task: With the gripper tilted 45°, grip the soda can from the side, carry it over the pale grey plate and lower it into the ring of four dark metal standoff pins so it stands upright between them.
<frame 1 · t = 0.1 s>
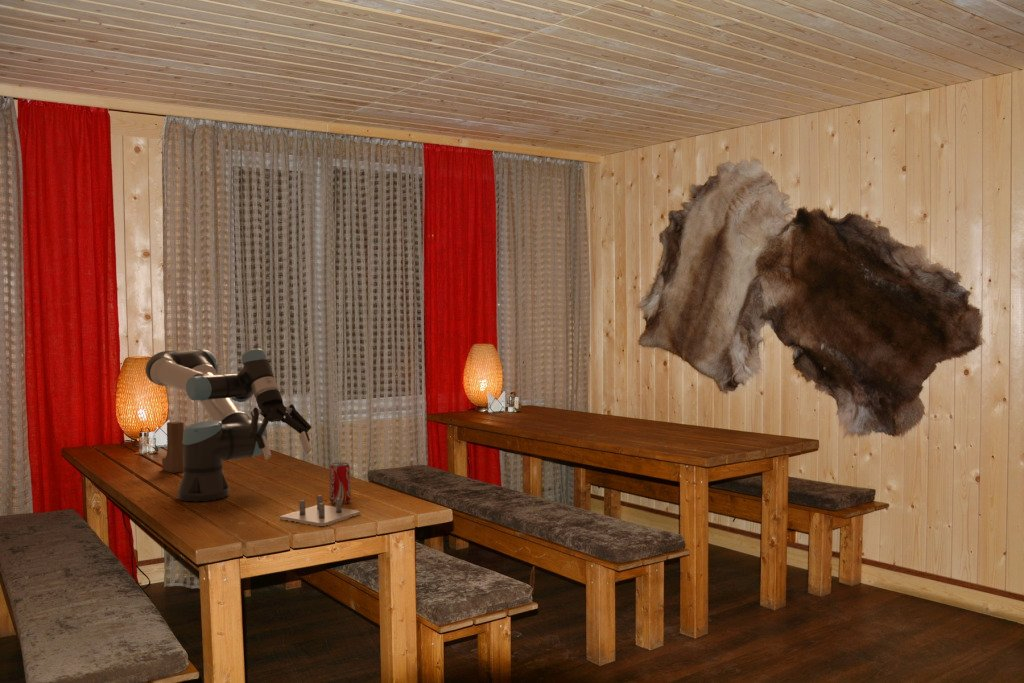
hand: (288, 454, 259), 15 cm above the table, tool tilted 35°, fingers open, 13 cm apart
wooden block: (173, 471, 311), on the table
soda can: (340, 503, 263), on the table
standoff pins: (320, 506, 245), on the base plate, point 3 cm above the table
base plate: (320, 517, 245), on the table
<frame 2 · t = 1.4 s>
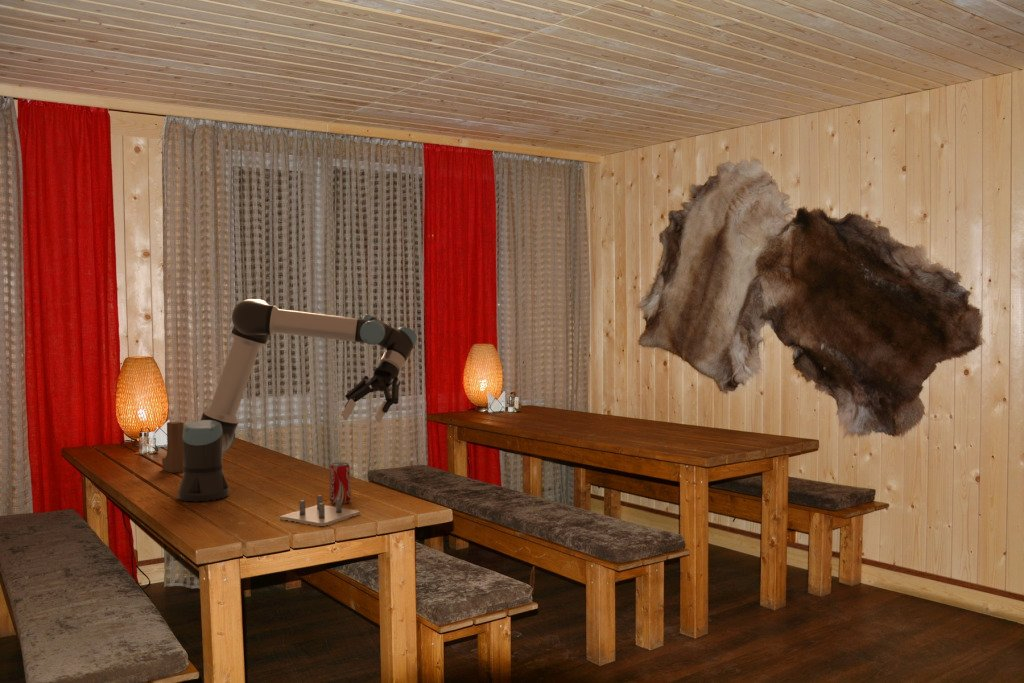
hand: (360, 418, 270), 25 cm above the table, tool tilted 45°, fingers open, 13 cm apart
nothing on the table moved.
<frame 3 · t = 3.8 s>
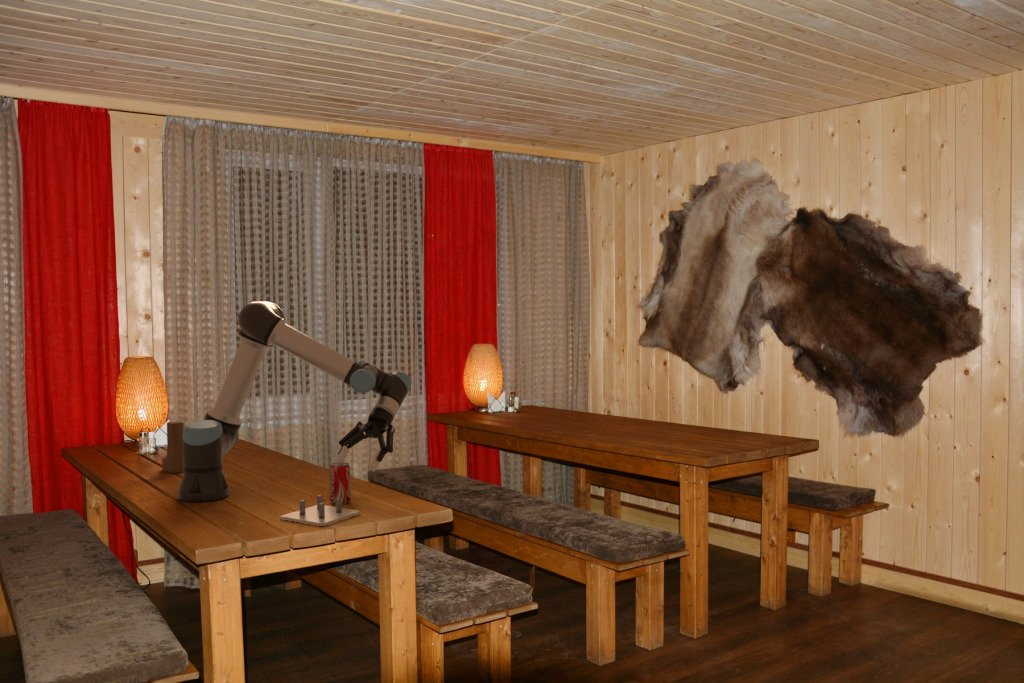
hand: (354, 467, 266), 10 cm above the table, tool tilted 45°, fingers open, 13 cm apart
nothing on the table moved.
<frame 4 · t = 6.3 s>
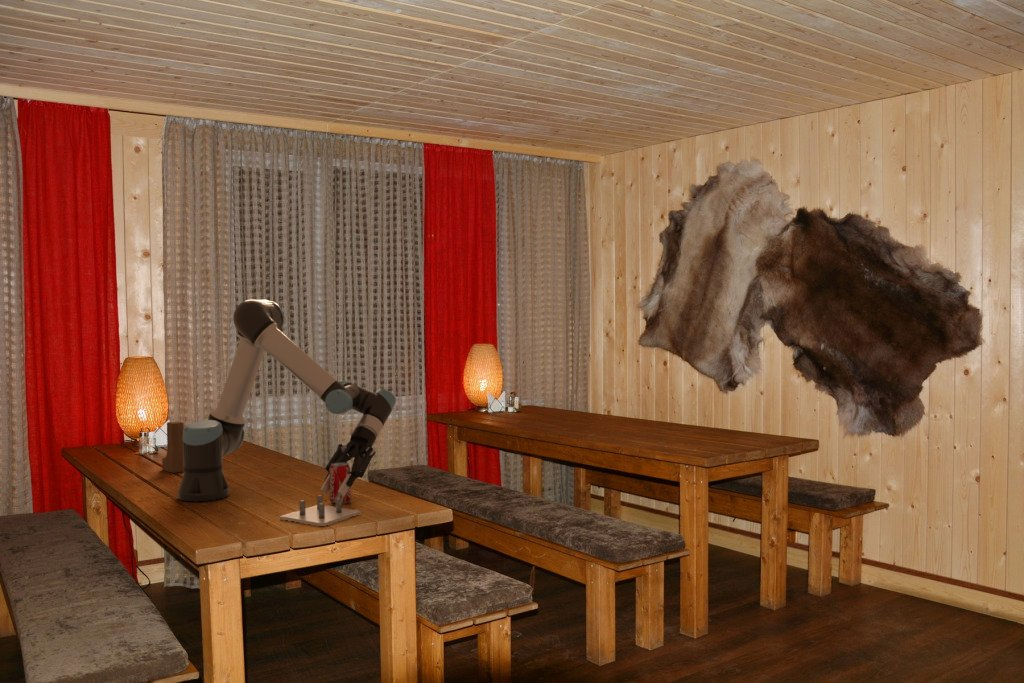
hand: (332, 493, 259), 4 cm above the table, tool tilted 45°, fingers closed on soda can, 6 cm apart
soda can: (340, 503, 263), on the table, touching gripper
everything else where it was.
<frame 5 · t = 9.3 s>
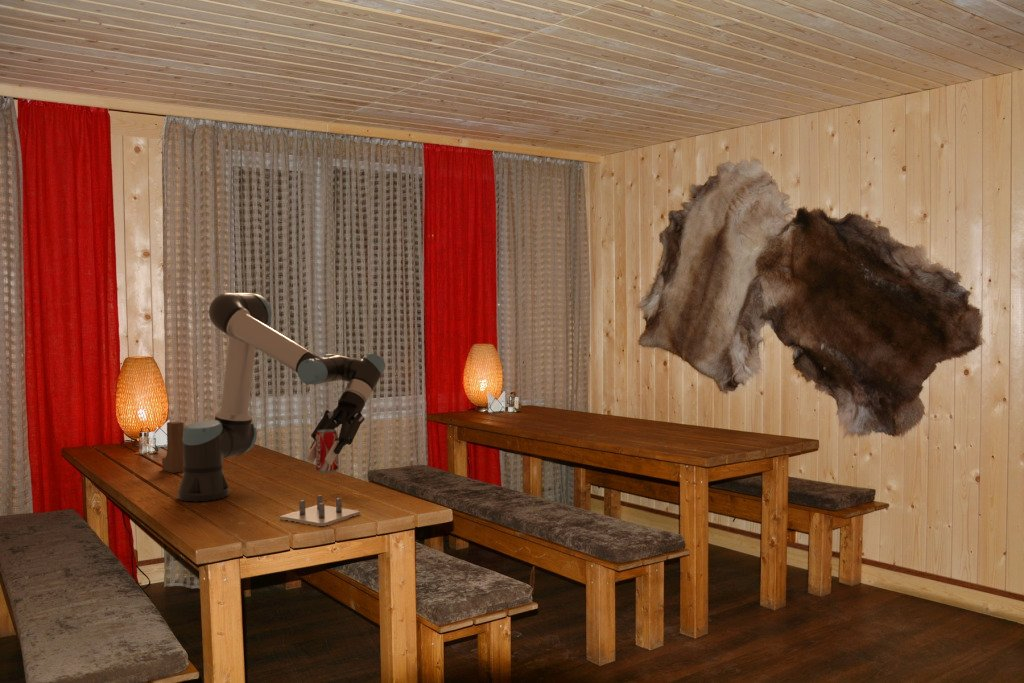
hand: (318, 461, 244), 16 cm above the table, tool tilted 45°, fingers closed on soda can, 6 cm apart
soda can: (327, 472, 248), point 12 cm above the table, touching gripper
everything else where it was.
when the fingers open (7 cm above the table, at t = 12.3 s): soda can drops 2 cm, resting on base plate.
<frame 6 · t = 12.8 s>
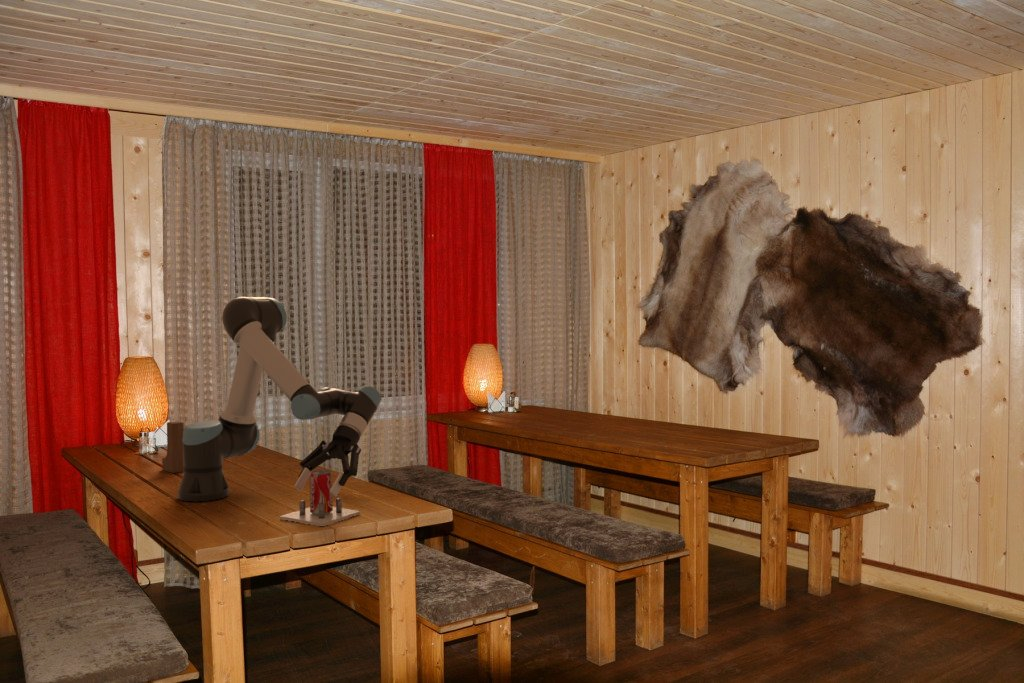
hand: (314, 491, 242), 8 cm above the table, tool tilted 45°, fingers open, 13 cm apart
soda can: (321, 514, 245), point 1 cm above the table, touching base plate
everything else where it was.
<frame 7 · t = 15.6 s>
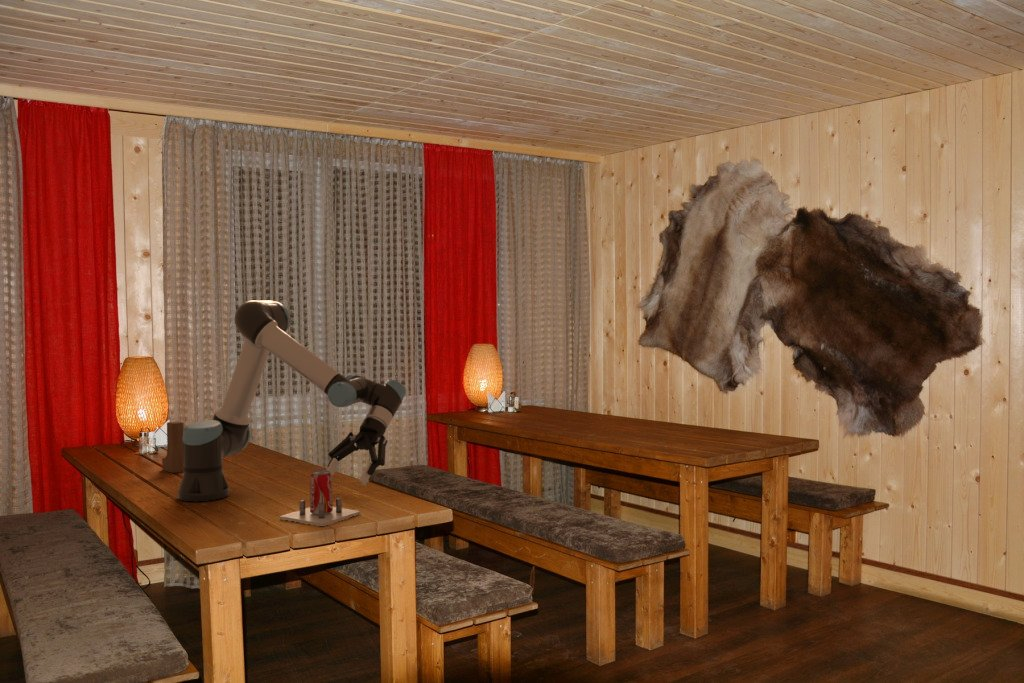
hand: (343, 480, 253), 9 cm above the table, tool tilted 45°, fingers open, 13 cm apart
nothing on the table moved.
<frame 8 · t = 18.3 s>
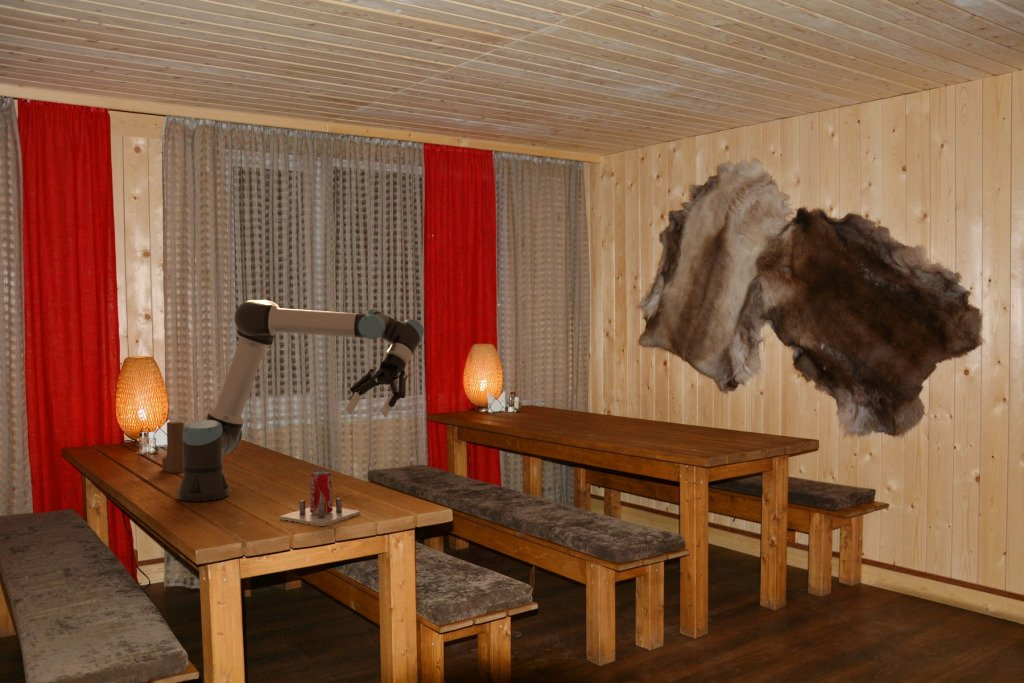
hand: (365, 412, 261), 28 cm above the table, tool tilted 45°, fingers open, 13 cm apart
nothing on the table moved.
at the end: soda can 0.1 cm off-centre on the base plate, point 0.8 cm above the base plate's base; soda can tilted 0°; the gripper is holding nothing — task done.
